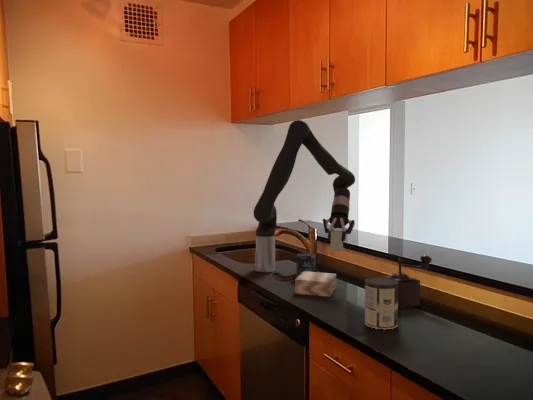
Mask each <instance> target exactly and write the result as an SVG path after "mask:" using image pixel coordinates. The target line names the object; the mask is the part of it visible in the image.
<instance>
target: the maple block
mask: <svg viewBox="0 0 533 400" xmlns="http://www.w3.org/2000/svg"><path fill="white" fill-rule="evenodd" d="M294 279H295V280H294V294H297V295H298V294H299V295H306V294H307V295H310V296H316V295H318V296H319V297H326V296H327V297H329V298H330V297H331V296H332V295H333V293H334V291H335V289H336V288H337V273H330V272H317V271H315V272H308V271H303V272H302V273H301V274H300V275H299V276H298V277H297V276H296V278H294ZM318 296H317V297H318Z"/></svg>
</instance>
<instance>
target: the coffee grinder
mask: <svg viewBox="0 0 533 400" xmlns="http://www.w3.org/2000/svg"><path fill="white" fill-rule="evenodd" d="M419 259H420V262H421V264H420V265H419V266H418V265H413V264H404V263H402V262H403V259H402V258H398V262H397V265H398V272H396V273H393V274H391V275H383V276H382V275H381V277H386V278H392V279H395V280H397V281H398V282H399V284H398V310H402V309H409V307H410V308H412V307H413V308H414V307H417V306H421V301H420V300H421V294H420V293H421V280H420V279H417V278H415V277H410V276H409V275H407V274H406V273H404V272H402V267H405V268H413V269H416V270H417V269H418V270H425V269H429V265H430V264H431V263H432V261H433V259H432V258H431V256H429V255H425V254H423V255H421V256H420V258H419ZM401 308H402V309H401Z"/></svg>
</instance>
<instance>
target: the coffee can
mask: <svg viewBox="0 0 533 400" xmlns="http://www.w3.org/2000/svg"><path fill="white" fill-rule="evenodd" d="M398 284H399V282H398V281H397V280H395V279H392V278H386V277H382V276H371V277H367V278H365V279H364V325H365V326H366V327H368V328H370V327H371V329H373V328H375V330H378V329H383V330H382V331H387V330H386V329H392V330H394V328H395V329H396V327H397V328H398V324H399V323H398V314H399V312H398V310H399V309H398Z"/></svg>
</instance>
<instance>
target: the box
mask: <svg viewBox="0 0 533 400" xmlns="http://www.w3.org/2000/svg"><path fill="white" fill-rule="evenodd" d="M316 259H317V257H316V255H315V253H296V261H295V262H296V265H295V268H296V269H295V271H296V272H295V276H296V278H297V277H298V276H299V275H300V274H301V273H302V272H303V271H308V272H316V263H317V262H316Z"/></svg>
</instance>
